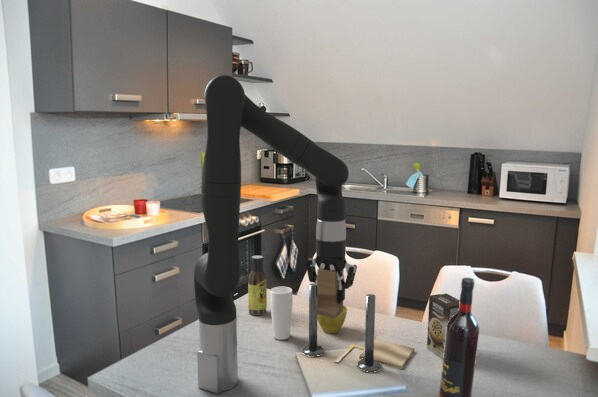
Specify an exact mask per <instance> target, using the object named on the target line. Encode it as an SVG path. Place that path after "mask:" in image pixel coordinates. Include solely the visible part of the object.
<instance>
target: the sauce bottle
mask: <svg viewBox="0 0 598 397" xmlns="http://www.w3.org/2000/svg"><path fill="white" fill-rule="evenodd" d="M250 260H251V271H250V272H249V274H248V287H247V289H248V291H247V295H248V296H247V298H248V300H247V302H248V304H247V305H248V307H247V308H248V313H249V314H250V315H252V316H261V315H264V314H266V312H267V305H268V303H267V302H268V301H267V300H268V298H267V293H268V292H267V291H268V290H267V287H268V286H267V283H268V282H267V280H268V279H267V275H266V273H265V271H264V256H263V255H253V256H251V259H250Z"/></svg>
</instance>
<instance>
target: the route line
mask: <svg viewBox="0 0 598 397" xmlns="http://www.w3.org/2000/svg"><path fill="white" fill-rule="evenodd" d="M354 348H355V349H359V350H363V349H365V346H362V345H357V344H350V345H349V347H348V348H346V349H345V351H350V350H351V349H352V350H353V349H354ZM352 350H351V351H352ZM351 351H350V352H351Z"/></svg>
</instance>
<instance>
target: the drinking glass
mask: <svg viewBox="0 0 598 397" xmlns="http://www.w3.org/2000/svg"><path fill="white" fill-rule="evenodd" d="M269 294H270V295H269V296H270V297H269V298H270V299H269V301H270V302H269V303H270V304H269V305H270V313H271V314H270V315H271V324H272V326H271V327H272V337H273V338H274V339H275V340H278V341H284V340H287V339H289V338H290V337H291V324H292V313H293V312H292V311H293V298H294V297H293V296H294V295H293V289H292V288H291V287H288V286H283V285H282V286H281V285H280V286H275V287H272V288H271V289H270V293H269Z"/></svg>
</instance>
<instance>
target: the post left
mask: <svg viewBox="0 0 598 397" xmlns="http://www.w3.org/2000/svg"><path fill="white" fill-rule="evenodd" d="M303 353H304V354H305V355H309V356H317V355H321V354H322V355H324V348H323V347H322V346H321V345H319V344H318V319H317V296H316V285H315V283H309V285H308V345H305V346H303V347H302V354H303ZM304 354H303V355H304ZM305 355H304V356H305ZM322 355H321V356H322Z"/></svg>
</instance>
